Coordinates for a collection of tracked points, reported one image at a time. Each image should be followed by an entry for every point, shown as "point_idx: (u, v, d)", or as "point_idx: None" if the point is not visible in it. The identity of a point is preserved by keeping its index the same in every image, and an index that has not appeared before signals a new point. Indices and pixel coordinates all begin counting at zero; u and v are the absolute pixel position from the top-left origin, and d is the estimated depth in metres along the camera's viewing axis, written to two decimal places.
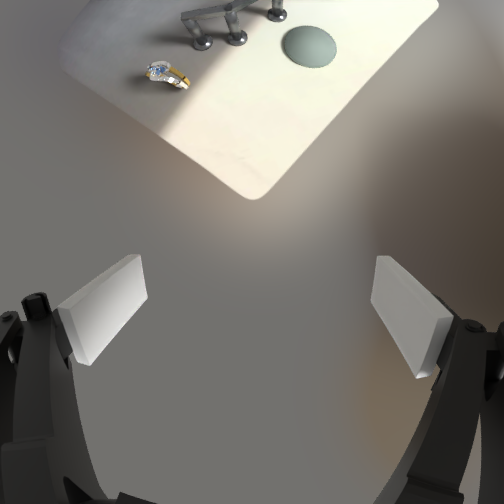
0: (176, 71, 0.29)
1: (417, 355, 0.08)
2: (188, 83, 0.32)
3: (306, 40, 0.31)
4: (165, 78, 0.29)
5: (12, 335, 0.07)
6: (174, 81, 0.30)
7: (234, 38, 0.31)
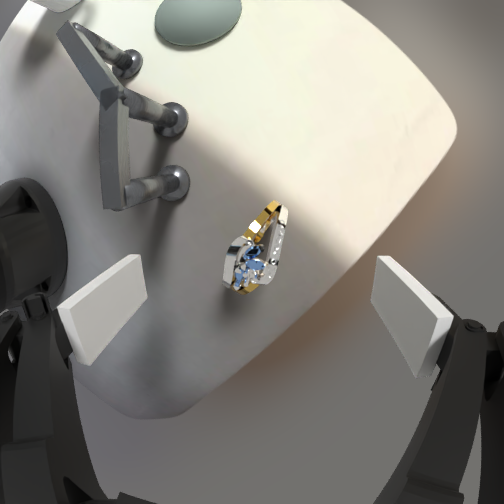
0: (257, 223, 0.16)
1: (417, 355, 0.08)
2: (277, 202, 0.18)
3: (186, 15, 0.17)
4: (274, 247, 0.16)
5: (12, 335, 0.07)
6: (281, 228, 0.16)
7: (173, 121, 0.19)
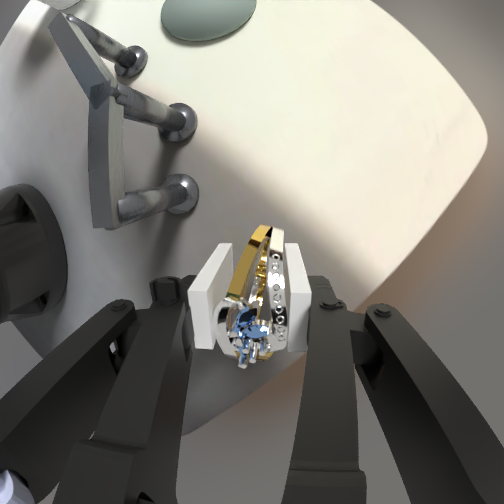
0: (240, 272, 0.11)
1: (288, 329, 0.11)
2: (266, 227, 0.13)
3: (195, 9, 0.15)
4: (274, 300, 0.11)
5: (120, 330, 0.08)
6: (277, 267, 0.11)
7: (180, 123, 0.17)
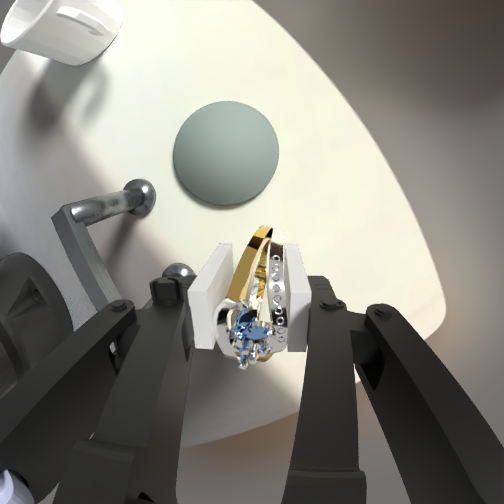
0: (240, 273, 0.11)
1: None
2: (266, 227, 0.13)
3: (210, 158, 0.19)
4: (275, 301, 0.10)
5: (120, 329, 0.08)
6: (277, 268, 0.11)
7: None
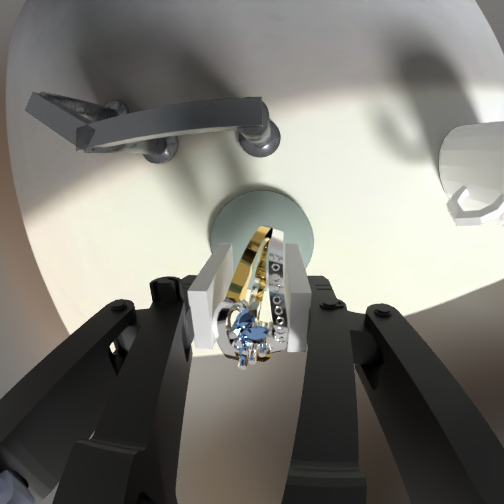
0: (240, 273, 0.11)
1: (288, 329, 0.11)
2: (266, 228, 0.13)
3: None
4: (274, 302, 0.10)
5: (120, 330, 0.08)
6: (277, 268, 0.11)
7: None
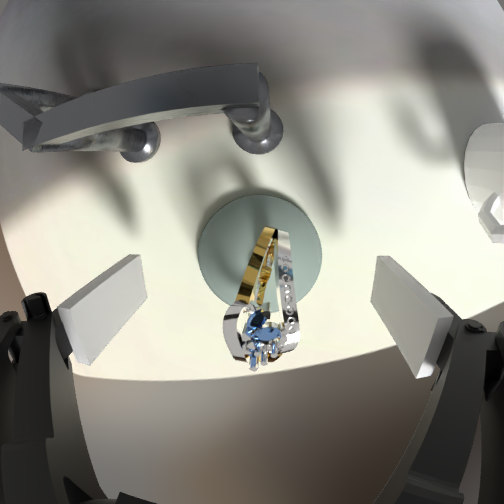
0: (249, 275, 0.11)
1: (417, 355, 0.08)
2: (271, 228, 0.13)
3: None
4: (285, 302, 0.10)
5: (12, 335, 0.07)
6: (287, 268, 0.11)
7: None
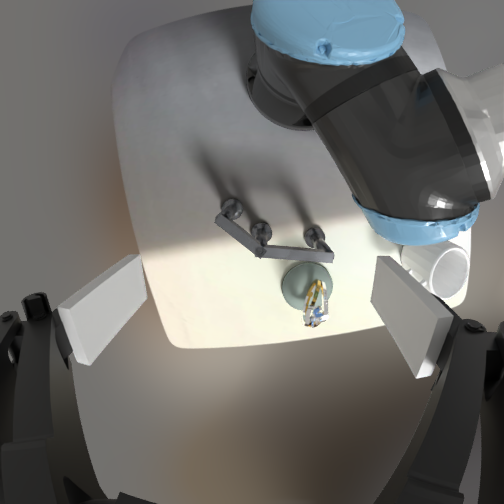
0: (315, 297, 0.35)
1: (417, 355, 0.08)
2: (319, 281, 0.38)
3: (309, 281, 0.42)
4: (325, 305, 0.35)
5: (12, 335, 0.07)
6: (325, 296, 0.35)
7: None
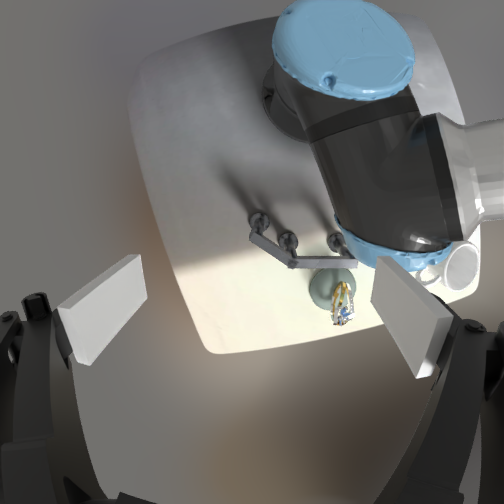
0: (341, 298, 0.38)
1: (417, 355, 0.08)
2: (344, 283, 0.40)
3: (334, 283, 0.44)
4: (350, 305, 0.37)
5: (12, 335, 0.07)
6: (351, 296, 0.38)
7: None
